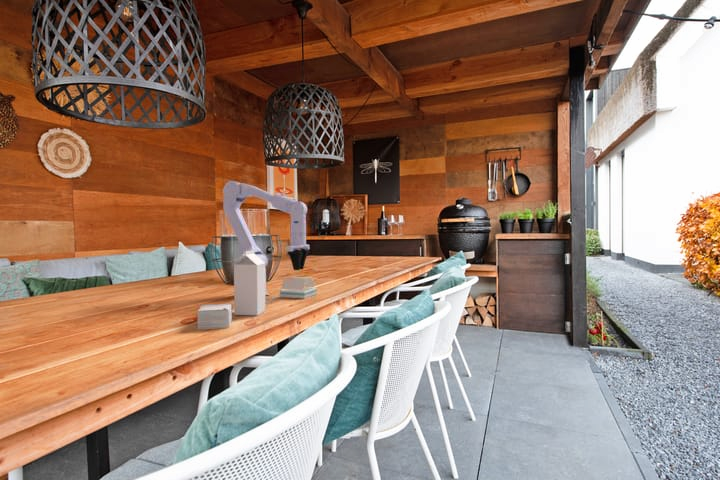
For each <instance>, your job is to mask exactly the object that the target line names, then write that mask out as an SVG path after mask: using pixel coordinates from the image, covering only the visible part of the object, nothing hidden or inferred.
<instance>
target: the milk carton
mask: <svg viewBox="0 0 720 480" xmlns="http://www.w3.org/2000/svg"><path fill="white" fill-rule="evenodd" d="M265 269H266V267H265V262H264V261H262V260H261V259H260V258H259V257H258V256H257V255H256V254H255V253H254V250H250V251H245V254H243V255H242V254H241V255H240V256H239V257H238V261H236V262H235V263H234V265H233V290H234V291H233V294H234V300H233V301H234V302H233V303H234V305H233V306H234V308H233V309H234V311H233V312H234V313H233V314H234V315H235V316H259V315H260V314H262V313H264V312H265V311H266V295H265Z"/></svg>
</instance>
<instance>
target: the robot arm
mask: <svg viewBox="0 0 720 480" xmlns="http://www.w3.org/2000/svg"><path fill="white" fill-rule="evenodd" d="M221 193H222V195H223V201H222V202H223V211H224V213H225V215H226V218H227V220H228V221H229V224H230V225H231V227H232V228H231V229H232V230H233V232H234V234H235V237H236V239H237V241H238V244H239V245H240V247H241V249H242V254H241V255H243V254H245V251H250V250H254V253H255V254H256V255H257V256H258V257H259V258H260V259H261V260H262V261H264V262H265V296H270V294H269V293H268V292H267V269H266V267H267V266H268V264H269V259H268V256H266V255H265V253H263V251H262V249H261V248H260V247H259V246H258V245H257V244H256V242H255V240H254V237H253V236H252V233H251V231H250V229H249V227H248V225H247V223H246V221H245V219H244V216H243V214H242V213H241V212H242V211H241V210H240V208H241V205H242V203H244V201H245V200H246V199H247V198H248V197H249V198H252V197H255V198H258V199H261V200H263V201H266V202H269V203H270V204H271V207H272V208H274V209H276V210H278V211H282V212H284V213H286V214H289V216H290V245H287V246H286V248H285V249H286V250H285V251H286V252H287V255H288V257H289V259H290V261H291V265H292V268H293V271H300V270H304V268H305V267H304V266H305V262H306V259H307V257H308V255H309V253H310V244H307V221H306V219H307V216H306V215H307V213H308V207H307V204H305V203H304V202H303V201H297V198H295V197H293V198H291V197H288V196H287V195H286V194H285V193H283V192H281V193H279V192H278V193H275V194H273V193H270V192H268V191H266V190H264V189H261V188H259V187H257V186H255V185H251V184H248V183H247V184H246V183H242V182H237V181H235V180H229V181H227V182H226V183H225V184H224V186H223V188H222V190H221Z"/></svg>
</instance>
